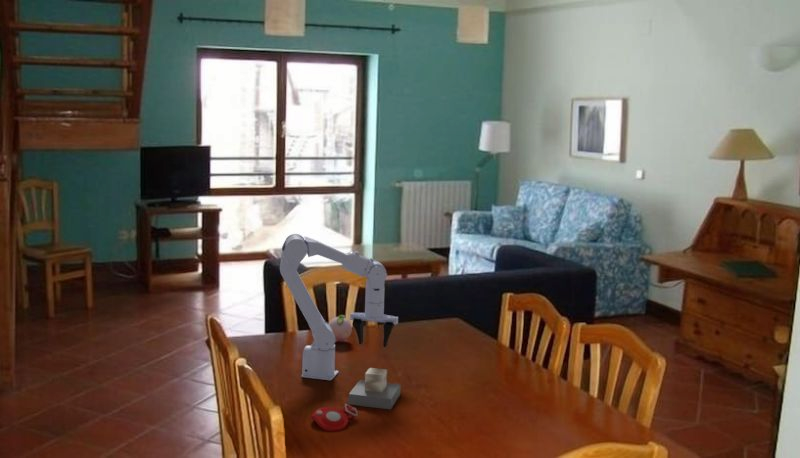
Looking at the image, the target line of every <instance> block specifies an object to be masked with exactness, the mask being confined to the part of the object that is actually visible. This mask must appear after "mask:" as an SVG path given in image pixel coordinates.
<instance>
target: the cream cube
mask: <svg viewBox="0 0 800 458" xmlns="http://www.w3.org/2000/svg"><path fill="white" fill-rule="evenodd" d="M387 376H388V369H383V368H376V367H375V368H374V367H369V368H368V369H367V370H366V372H365V373H364V380H365V391H373V392H381V393H382V392H383V391H384V389H385V388H386V383H387V378H388V377H387Z"/></svg>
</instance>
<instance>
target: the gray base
mask: <svg viewBox="0 0 800 458" xmlns="http://www.w3.org/2000/svg"><path fill="white" fill-rule="evenodd" d="M401 385H402V384H401V383H394V382H393V383H392V382H386V388H385V389H384V391H383V392H382V393H381V392H373V391H365V379H360V380H359V381H358V382H357V383H356V384H355V386H354V387H353V388H352V389H351V390H350V392H349V393H348V401H347V404H348V405H350V406H352V405H353V406H359V407H369V408H375V409H384V410H392V409H393V406H394V405H395V403H396V402H397V400H398V399H399V397H400V395H401V387H402V386H401Z"/></svg>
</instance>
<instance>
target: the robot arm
mask: <svg viewBox="0 0 800 458" xmlns="http://www.w3.org/2000/svg"><path fill="white" fill-rule="evenodd" d="M280 254H281V255H280V264H279V271H280V275H281V277H282V279H283V280H284V282H285V284H286V286H287V289H288V290H289V292H290V293H291V295H292V297H293V299H294V301H295V303H296V304H297V305H298V308H299V310H300V311H301V313H302V315H303V316H304V318H305V320H306V322H307V325H308V326H309V329H310V330H311V335H312V337H313V341H312V343H311V345H310V344H309V345H305V346H304V348H303V352H302V365H301V369H302V370H301V371H302V372H301V376H300V377H301V378H307V379H315V380H323V381H324V380H325V381H332V380H333V379H334V378H335V377H336V376H337V375H338V374H339V372H340V371H339V370H337V369H336V370H335V368H336V366H335V365H336V362H335V361H336V344H335V343H336V340H335V335H334V333H333V330H332V327H331V325H330V324H329V322H327V321H326V319H324V316H322V314H321V312H320V311H319V309H318V307H317V304H316V303H315V301H314V299H313V298H312V296H311V294H310V293H309V290H308V289H307V287H306V284H305V283H304V281H303V279H302V277H301V276H300V273H299V272H298V268H299V266H300V264H301V262H302V261H303V259H304V258H305V257H306V256H307V257H308V258H311V257H314V256H320V257H323V258H326V259H328V260H330V261H334V262H336V263H339V264H341V265H342V268H343V269H344V270H346V271H348V272H351V273H352V274H354V275H357V276H359V277H364V278H366V282H365V283H366V285H365V300H364V312H351V313H349V315H350V316H349V317H350V318H349V321H353V322H352V326H353V328H354V330H355V332H356V335H357V339H358V345H363V343H364V326H365V322H372V323H383V324H384V325H383V347H385V348H386V347H387V346H388V342H389V338H390V336H391V334H392V331H393V328H394V327H395V325H398V323H399V316H394V315H388V314H385V313H384V312H385V289H386V288H385V281H386V279H387V277H388V273H387V270H386V268H385V266H384V265H383V263H381V262H380V261H378V260H377V259H374V258H372V257H370V258H368V257H365V256H363V255H361V254H360V251H356V250H355V251H354V252H353V251H349V252H346V253H345V252H343V251H340V250H338V249H336V248H334V247H331V246H330V245H327V244H325V243H323V242H321V241H318V240H316V239H315V238H311V237H308V236H302V235H301V234H299V233H292V234H289V235H288V236H287V237H286V238H285V240H284V242H283V244H282V246H281V253H280Z"/></svg>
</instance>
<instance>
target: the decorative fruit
mask: <svg viewBox="0 0 800 458" xmlns="http://www.w3.org/2000/svg"><path fill="white" fill-rule="evenodd" d="M328 323H329V324H330V325H331V327H332V330H333V333H334V335H335V341H337V342H339V343H342V342H344V341H346V340H347V339H349V337H350V336H351V333H352V329H353V327H352V323H351V320H350V318H347V317H346V315H345V314H340V315H338V316H335V317H332V319H330V320H329V322H328Z"/></svg>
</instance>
